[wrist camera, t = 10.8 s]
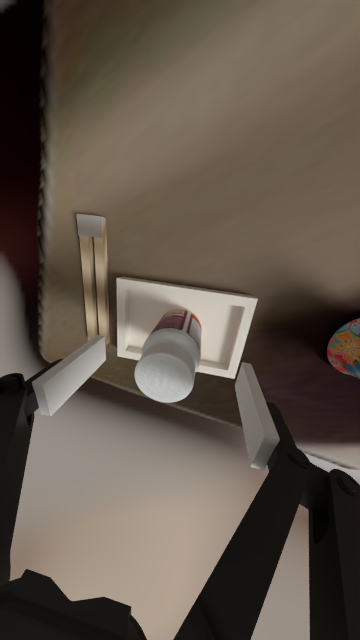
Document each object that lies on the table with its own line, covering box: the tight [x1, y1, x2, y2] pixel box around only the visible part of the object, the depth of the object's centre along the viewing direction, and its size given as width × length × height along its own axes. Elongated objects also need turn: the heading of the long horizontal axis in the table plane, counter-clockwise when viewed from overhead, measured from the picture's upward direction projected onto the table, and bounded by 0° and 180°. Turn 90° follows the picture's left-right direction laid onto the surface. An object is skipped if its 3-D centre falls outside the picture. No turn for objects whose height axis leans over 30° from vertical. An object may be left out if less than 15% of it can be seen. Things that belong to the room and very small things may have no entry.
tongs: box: [76, 214, 110, 345], centre depth 25 cm, size 18×3×1 cm, turn 173°
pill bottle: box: [135, 308, 202, 402], centre depth 19 cm, size 6×6×11 cm
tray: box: [117, 277, 258, 379], centre depth 24 cm, size 12×18×2 cm, turn 83°
